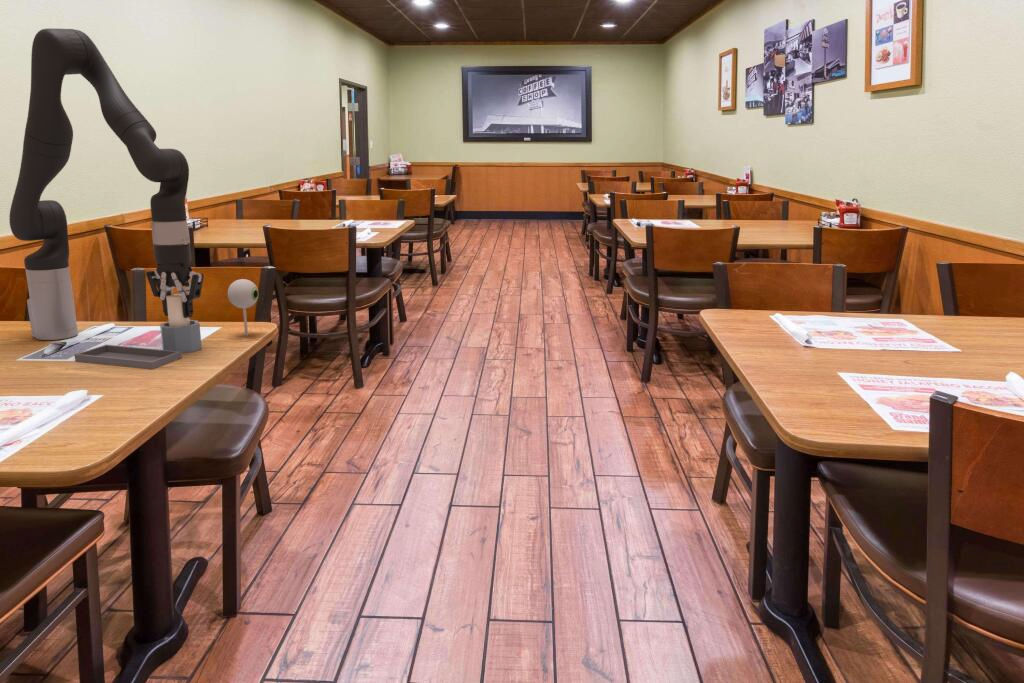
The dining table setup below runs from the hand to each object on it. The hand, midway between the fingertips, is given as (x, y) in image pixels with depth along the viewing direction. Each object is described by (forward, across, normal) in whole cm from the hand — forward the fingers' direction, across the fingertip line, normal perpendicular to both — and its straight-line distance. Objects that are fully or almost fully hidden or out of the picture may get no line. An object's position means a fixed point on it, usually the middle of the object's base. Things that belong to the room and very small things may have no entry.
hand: (178, 316), depth 176 cm
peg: (+7, 0, 0) cm, 7 cm away
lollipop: (+9, +6, +16) cm, 19 cm away
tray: (+9, -5, -11) cm, 15 cm away
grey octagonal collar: (+9, 0, 0) cm, 9 cm away
